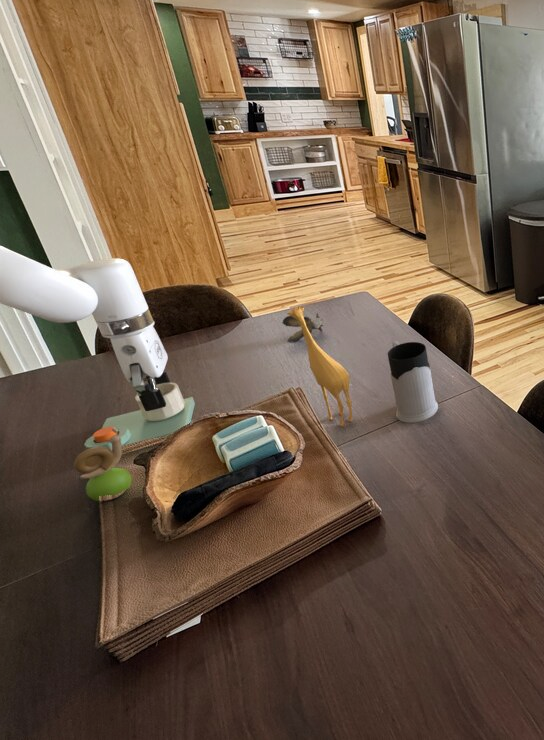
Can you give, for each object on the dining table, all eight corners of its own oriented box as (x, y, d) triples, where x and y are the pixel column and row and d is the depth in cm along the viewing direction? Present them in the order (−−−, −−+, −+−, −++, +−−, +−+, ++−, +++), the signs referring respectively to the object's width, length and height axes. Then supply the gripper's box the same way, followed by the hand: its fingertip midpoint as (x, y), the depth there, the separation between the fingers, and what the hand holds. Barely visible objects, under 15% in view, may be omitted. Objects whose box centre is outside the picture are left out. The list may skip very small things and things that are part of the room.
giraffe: (305, 408, 104) (275, 305, 95) (325, 398, 108) (298, 298, 98) (346, 435, 96) (318, 326, 86) (366, 424, 99) (341, 317, 90)
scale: (88, 466, 88) (80, 451, 87) (107, 426, 98) (100, 412, 97) (187, 437, 95) (181, 423, 94) (195, 403, 106) (189, 390, 104)
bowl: (141, 425, 95) (131, 405, 93) (147, 408, 100) (138, 388, 98) (183, 414, 98) (174, 394, 96) (187, 398, 103) (179, 379, 102)
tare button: (94, 445, 89) (90, 438, 88) (98, 436, 91) (95, 429, 90) (115, 439, 90) (112, 433, 90) (119, 430, 92) (116, 424, 92)
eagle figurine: (315, 321, 141) (280, 326, 134) (319, 306, 137) (283, 310, 130) (323, 341, 138) (287, 347, 131) (327, 326, 134) (291, 332, 127)
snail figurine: (149, 488, 83) (122, 433, 79) (100, 513, 78) (68, 457, 73) (136, 476, 86) (110, 422, 81) (88, 500, 81) (57, 444, 76)
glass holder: (404, 428, 98) (392, 366, 92) (383, 396, 108) (371, 339, 103) (444, 411, 103) (435, 352, 98) (420, 383, 113) (411, 327, 108)
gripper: (142, 335, 86) (176, 415, 93) (159, 302, 100) (188, 374, 107) (86, 346, 82) (125, 428, 89) (111, 310, 96) (144, 384, 103)
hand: (159, 398), depth 98 cm, fingers closed on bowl, 6 cm apart
